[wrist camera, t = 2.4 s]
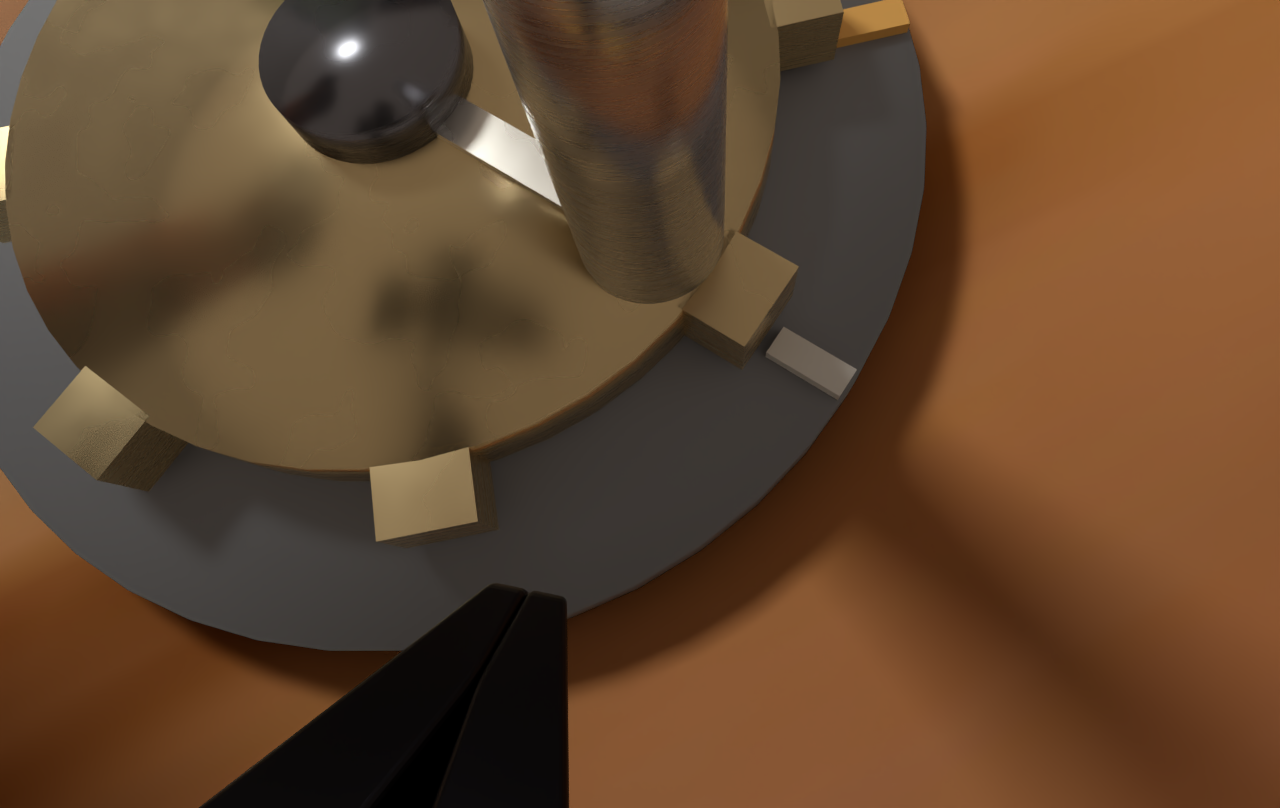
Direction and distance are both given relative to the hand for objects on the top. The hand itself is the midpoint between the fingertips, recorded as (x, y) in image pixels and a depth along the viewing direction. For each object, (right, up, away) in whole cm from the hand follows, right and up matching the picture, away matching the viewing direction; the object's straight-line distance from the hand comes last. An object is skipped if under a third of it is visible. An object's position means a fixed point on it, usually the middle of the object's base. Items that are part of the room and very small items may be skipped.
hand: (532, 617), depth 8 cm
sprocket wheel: (-5, +9, +11) cm, 15 cm away
